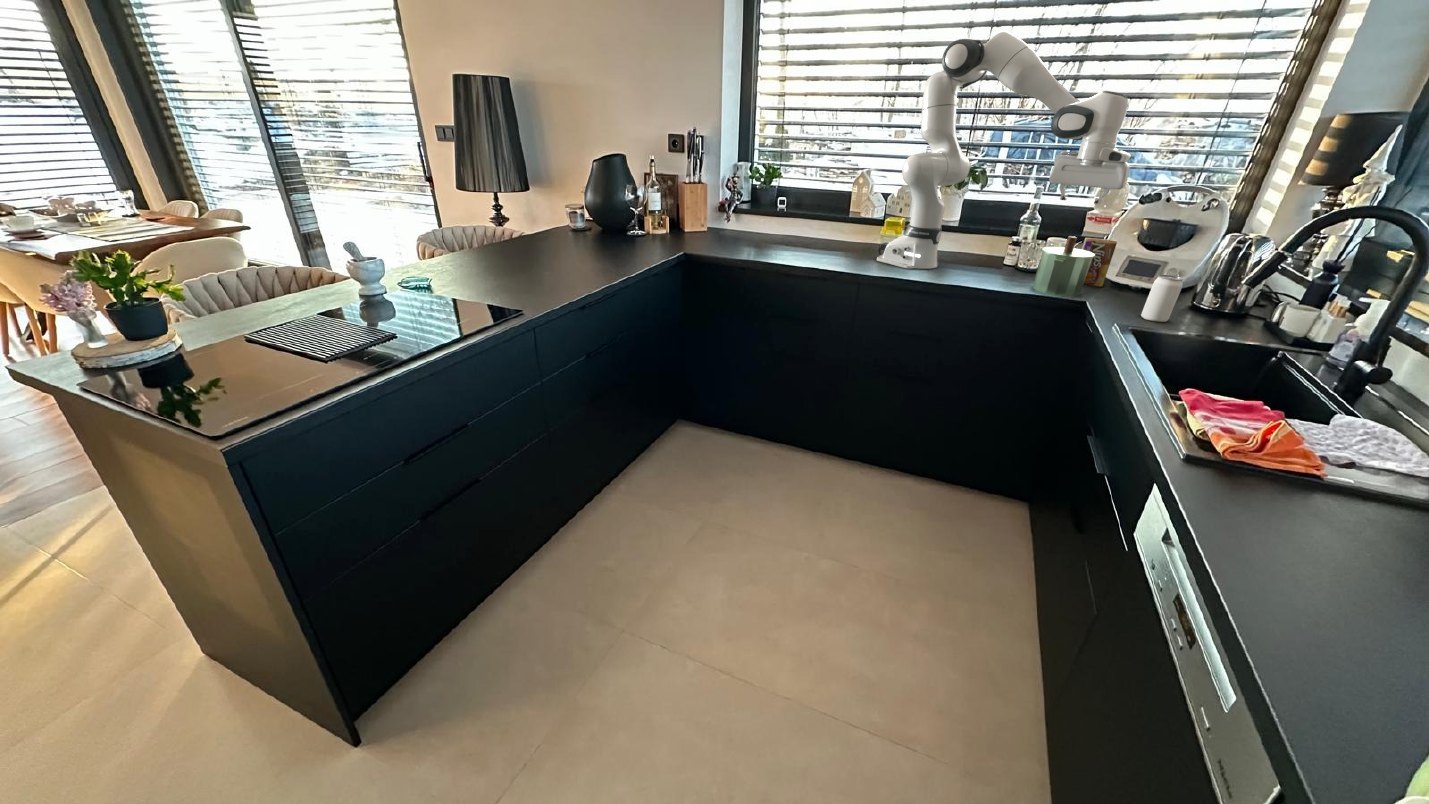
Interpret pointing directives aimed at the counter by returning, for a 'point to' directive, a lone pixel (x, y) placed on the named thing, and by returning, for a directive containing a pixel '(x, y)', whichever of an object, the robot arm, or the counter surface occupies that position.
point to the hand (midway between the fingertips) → (1079, 201)
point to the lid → (1068, 250)
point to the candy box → (1098, 259)
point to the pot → (1061, 275)
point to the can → (1162, 298)
